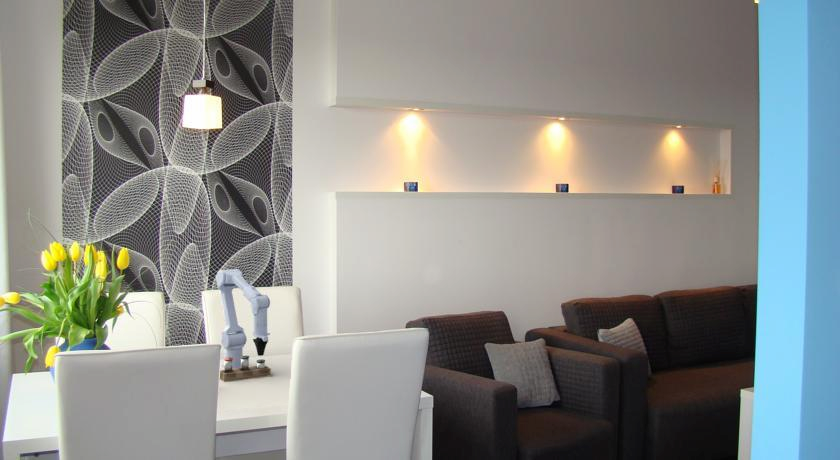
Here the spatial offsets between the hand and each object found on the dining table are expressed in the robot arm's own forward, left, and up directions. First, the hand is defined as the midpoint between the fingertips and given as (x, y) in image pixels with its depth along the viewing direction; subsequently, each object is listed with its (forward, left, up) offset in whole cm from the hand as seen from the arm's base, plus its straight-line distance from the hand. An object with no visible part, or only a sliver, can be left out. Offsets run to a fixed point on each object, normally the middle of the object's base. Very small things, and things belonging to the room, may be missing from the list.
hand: (260, 355), depth 313 cm
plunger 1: (0, -7, -5) cm, 9 cm away
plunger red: (0, -14, -5) cm, 15 cm away
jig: (0, -7, -8) cm, 11 cm away
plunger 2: (0, 0, -8) cm, 8 cm away
